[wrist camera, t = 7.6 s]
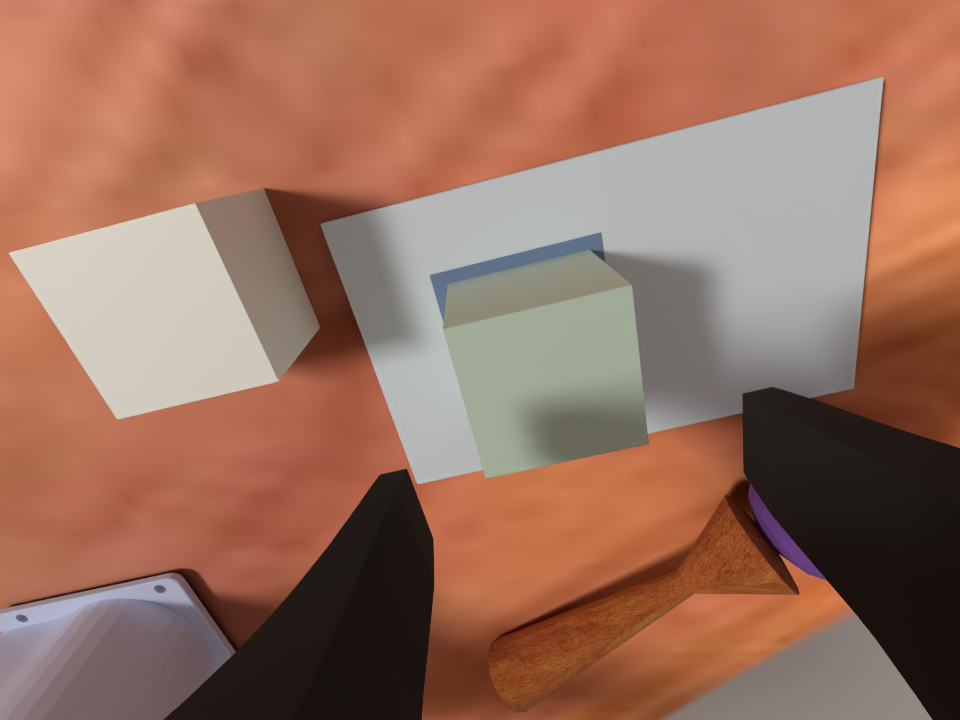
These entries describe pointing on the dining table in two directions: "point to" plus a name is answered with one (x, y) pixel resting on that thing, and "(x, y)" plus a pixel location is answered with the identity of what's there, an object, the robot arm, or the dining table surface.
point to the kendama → (647, 603)
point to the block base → (547, 362)
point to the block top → (176, 302)
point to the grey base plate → (642, 263)
